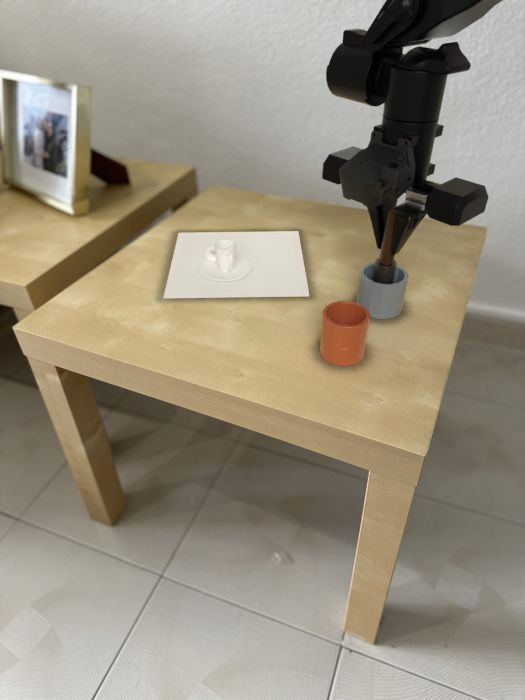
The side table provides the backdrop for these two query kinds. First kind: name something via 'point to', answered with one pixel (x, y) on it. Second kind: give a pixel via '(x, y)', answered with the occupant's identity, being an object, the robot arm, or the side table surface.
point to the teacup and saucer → (237, 265)
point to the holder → (344, 332)
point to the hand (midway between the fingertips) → (387, 250)
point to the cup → (382, 293)
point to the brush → (386, 251)
